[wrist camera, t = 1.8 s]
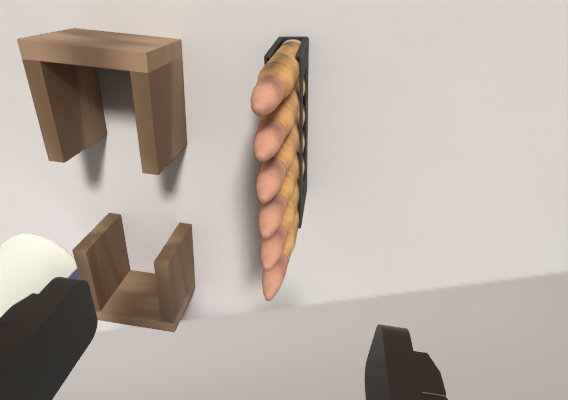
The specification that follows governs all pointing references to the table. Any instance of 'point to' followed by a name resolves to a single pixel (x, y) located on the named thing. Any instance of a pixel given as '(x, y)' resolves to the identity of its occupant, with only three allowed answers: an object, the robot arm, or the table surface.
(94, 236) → the end cap
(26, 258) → the water bottle
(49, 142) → the end cap
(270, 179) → the ammunition clip
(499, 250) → the table surface
